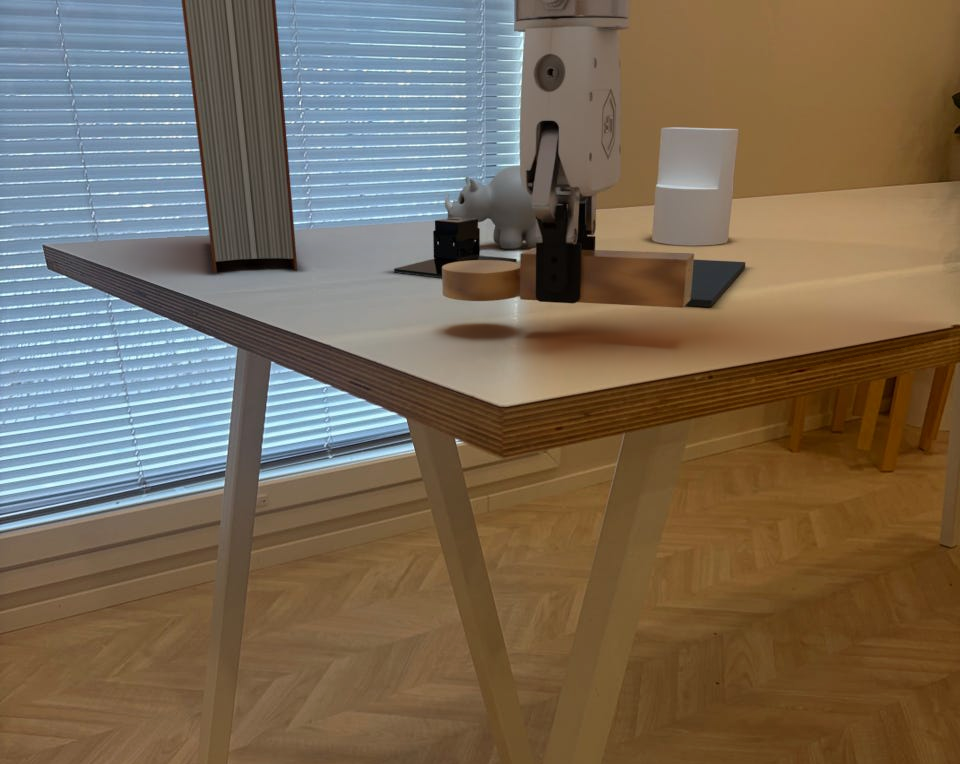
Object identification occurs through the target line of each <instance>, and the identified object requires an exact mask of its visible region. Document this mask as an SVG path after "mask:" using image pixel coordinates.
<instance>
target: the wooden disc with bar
mask: <svg viewBox="0 0 960 764" xmlns="http://www.w3.org/2000/svg"><path fill="white" fill-rule="evenodd" d="M519 255H520V260H519V261H520V262H519V263H518V262H516V263H515V262H510V261H500V260H471V261H460V262H453V263H449V264H446V265H444V266H442V278H441V281H442V283H441V284H442V286H441V287H442V295H443V297H444V298H446V299H451V300H456V301H463V302H464V301H465V302H495V301H503V300H509V299H514V298H517V297H519V298H520V300H523V301H538V300H537V299H536V247H531V248H530V249H528V250H525V251H524V252H521V253H520V254H519ZM694 260H695V253H691V252H664V251H635V250H633V251H632V250H609V249H608V250H605V249H603V250H602V249H595V250H582V255H581V289H580V299H579V301H577V302H576V303H581V304H582V303H583V304H603V305H620V306H621V305H623V306H639V307H640V306H641V307H660V308H679V309H680V308H682V309H683V308H684V307H686V306H685V305H686V304H687V303H688V302H689V301H690V300H691V288H692V275H693V262H694Z"/></svg>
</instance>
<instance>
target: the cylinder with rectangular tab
mask: <svg viewBox="0 0 960 764" xmlns="http://www.w3.org/2000/svg"><path fill="white" fill-rule="evenodd" d="M739 131H740V130H739V128H711V127H709V128H708V127H704V128H703V127H678V126H677V127H662V128H660V142H659V153H658V154H659V155H658V169H657V183H656V184H655V188H654V189H655V190H654V191H655V192H654V202H653V203H654V204H653V216H652V217H653V219H652V233H651V241H653V242H654V243H657V244H658V243H659V244H666V245H674V246H716V245H723V244H726V243H728V242H729V235H730V224H731V216H732V215H731V214H732V206H733V196H734V178H735V168H736V159H737V149H738V140H739V139H738V138H739Z"/></svg>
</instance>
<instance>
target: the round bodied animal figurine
mask: <svg viewBox="0 0 960 764" xmlns="http://www.w3.org/2000/svg"><path fill="white" fill-rule="evenodd" d="M464 180H465V186H464V187H463V188H462V189H461V191H460V192H459V195H458V198H457V200H456V199H455V198H453V199H452V202H451V200H450V197H449V195H450V194H449V193H447V194H446V195H445V199H444V207H445V209H446V211H447V218H452V217H461V218H473V219H478V223H482V222H485V221H486V220H487V219H488V220H490V221H491V222H492V224H493V225H494V229H493V235H492V236H493V238H492V239H493V242H494V243H495V244H498V245H499V246H500V247H501V248H502V249H506V250H514V249H515V250H516V249H519V248H521V247H522V246H523V242H525V245H526V247H528V248H536V238H535V232H536V218H535V217H536V215H535V213H534V211H533V210H532V206H531V200H532V195H530V194H529V193H528V192H526V190H525V189H524V188H523V187H522V184H521V175H520V165H511V166H508V167H505V168H503V169H501V170H500V171H499V172H497V173H496V174H495V176H494V177H493V178H492V179H491V181H490V182H489V184H488V185H485V184H482V183H480V182H476V181H475V180H474V179H473V178H469V176H465V178H464Z"/></svg>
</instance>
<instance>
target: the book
mask: <svg viewBox="0 0 960 764" xmlns="http://www.w3.org/2000/svg"><path fill="white" fill-rule="evenodd" d="M276 3H277V2H276V0H181V6H182V8H181V9H182V17H183V25H184V32H185V43H186V50H187V58H188V59H187V60H188V66H189V67H188V68H189V75H190V84H191V91H192V100H193V101H192V102H193V109H194V117H195V125H196V126H195V127H196V133H197V142H198V152H199V159H200V166H201V168H200V169H201V175H202V183H203V193H204V201H205V209H206V218H207V226H208V227H207V228H208V235H209V243H210V249H211V257H212V263H213V269H214V274H215V275H218V268H217V262H225V261H226V262H227V261H236V260H239V261H240V260H256V259H260V260H261V259H287V260H289V262H290V264H291V266H292V268H293V269H294V271H296V272H297V271H298V262H297V261H298V260H297V247H296V236H295V235H296V234H295V225H294V213H293V210H294V209H293V199H292V187H291V176H290V174H291V173H290V163H289V161H290V160H289V151H288V139H287V138H288V137H287V127H286V126H287V125H286V115H285V114H286V113H285V103H284V90H283V79H282V66H281V55H280V54H281V53H280V41H279V40H280V39H279V29H278V17H277V6H276V5H277V4H276Z"/></svg>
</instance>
